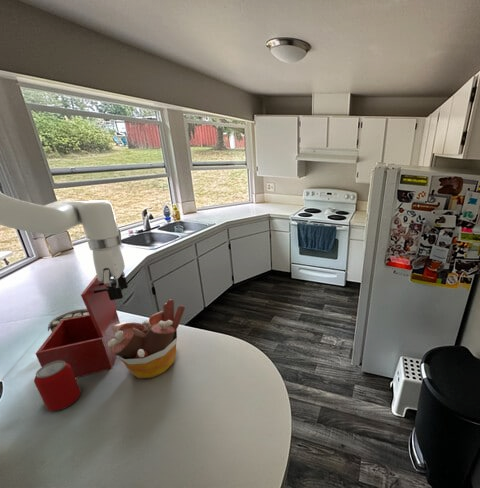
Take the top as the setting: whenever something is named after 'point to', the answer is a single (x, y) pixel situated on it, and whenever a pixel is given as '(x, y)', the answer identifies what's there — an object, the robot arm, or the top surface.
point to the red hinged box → (79, 346)
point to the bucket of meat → (148, 342)
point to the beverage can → (57, 385)
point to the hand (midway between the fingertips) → (119, 293)
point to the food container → (71, 314)
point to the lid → (99, 305)
